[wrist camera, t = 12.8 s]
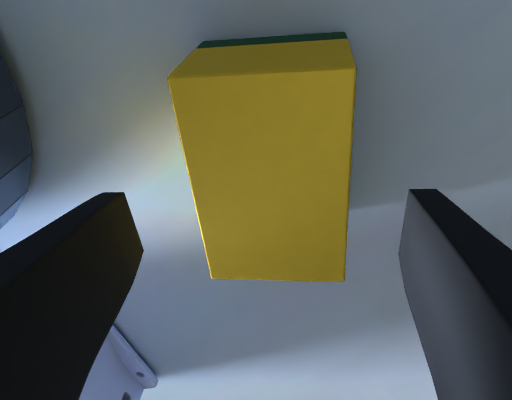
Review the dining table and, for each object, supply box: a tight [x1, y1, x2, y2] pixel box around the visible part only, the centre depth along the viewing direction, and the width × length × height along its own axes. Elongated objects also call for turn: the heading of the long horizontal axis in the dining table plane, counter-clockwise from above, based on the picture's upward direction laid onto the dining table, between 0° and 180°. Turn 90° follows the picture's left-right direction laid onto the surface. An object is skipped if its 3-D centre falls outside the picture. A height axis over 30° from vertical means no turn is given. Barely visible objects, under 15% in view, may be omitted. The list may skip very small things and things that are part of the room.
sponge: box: [167, 32, 357, 282], centre depth 12 cm, size 7×4×4 cm, turn 5°
